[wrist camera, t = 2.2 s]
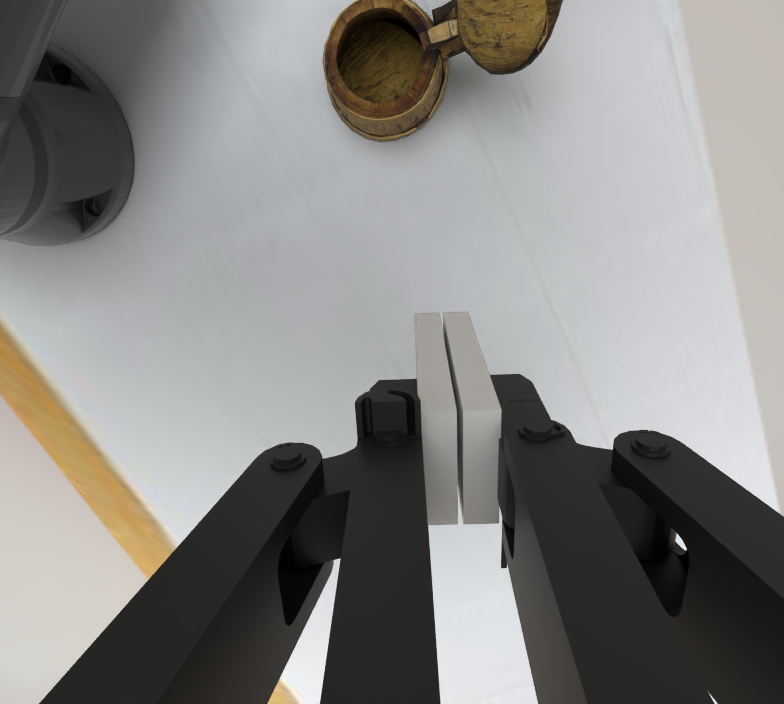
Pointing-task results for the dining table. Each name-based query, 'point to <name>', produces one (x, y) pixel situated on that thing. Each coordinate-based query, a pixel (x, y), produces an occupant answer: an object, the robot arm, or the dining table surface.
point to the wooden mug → (422, 55)
